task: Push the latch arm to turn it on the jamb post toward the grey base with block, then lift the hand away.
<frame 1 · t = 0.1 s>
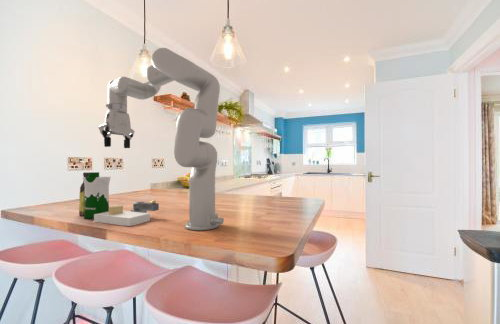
hand: (117, 147, 109), 31 cm above the breakfast bar, fingers open, 9 cm apart
sauce bottle: (87, 214, 115), on the breakfast bar
latch arm: (145, 205, 107), point 6 cm above the breakfast bar, hinge at 90.0°
grey base with block: (122, 221, 100), on the breakfast bar
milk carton: (97, 217, 109), on the breakfast bar
jamb post: (138, 217, 108), on the breakfast bar
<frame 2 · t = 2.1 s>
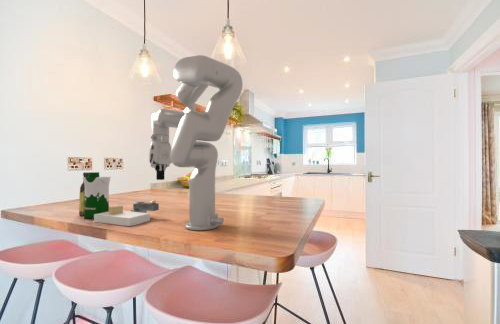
hand: (160, 179, 111), 16 cm above the breakfast bar, fingers closed
nothing on the breakfast bar moved.
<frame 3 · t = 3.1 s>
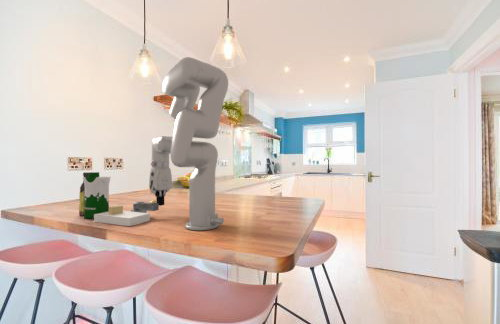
hand: (160, 205, 111), 5 cm above the breakfast bar, fingers closed
nothing on the breakfast bar moved.
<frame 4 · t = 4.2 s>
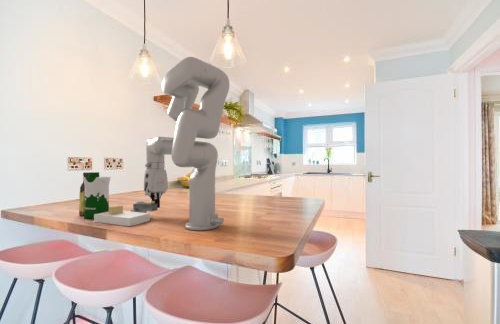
hand: (155, 207, 108), 4 cm above the breakfast bar, fingers closed
latch arm: (144, 205, 107), point 6 cm above the breakfast bar, hinge at 85.5°, touching gripper
everything else where it was.
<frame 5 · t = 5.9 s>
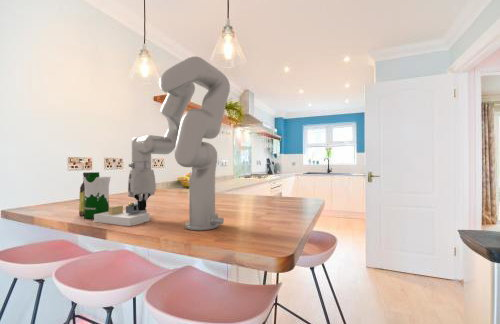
hand: (142, 209, 102), 4 cm above the breakfast bar, fingers closed
latch arm: (135, 206, 104), point 6 cm above the breakfast bar, hinge at 28.2°, touching gripper
everything else where it was.
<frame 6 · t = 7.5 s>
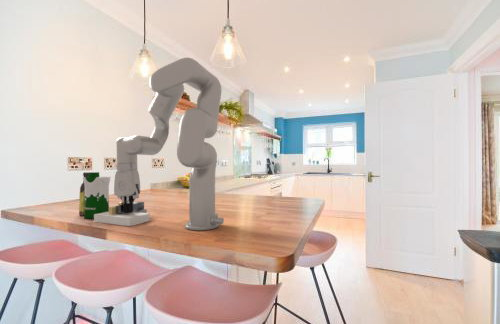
hand: (128, 212, 99), 4 cm above the breakfast bar, fingers closed
latch arm: (131, 205, 105), point 6 cm above the breakfast bar, hinge at -2.7°, touching gripper
everything else where it was.
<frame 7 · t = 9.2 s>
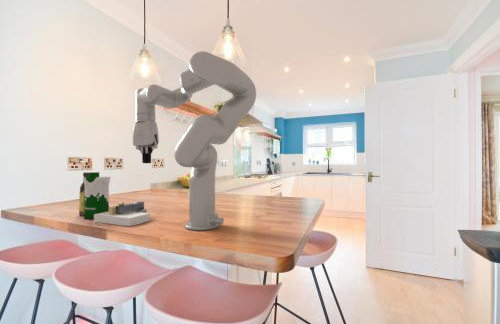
hand: (146, 163, 101), 24 cm above the breakfast bar, fingers closed
latch arm: (131, 205, 105), point 6 cm above the breakfast bar, hinge at -2.6°
everything else where it was.
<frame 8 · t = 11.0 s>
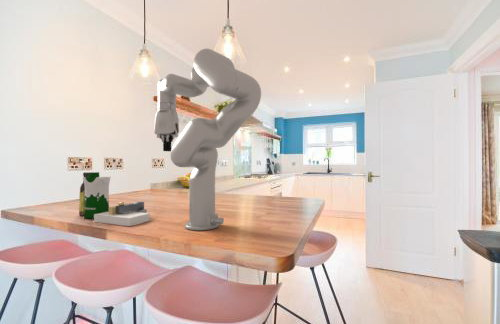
hand: (167, 151, 105), 29 cm above the breakfast bar, fingers closed
nothing on the breakfast bar moved.
at the end: latch arm at -3° (first picture: +90°); latch arm touching nothing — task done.
